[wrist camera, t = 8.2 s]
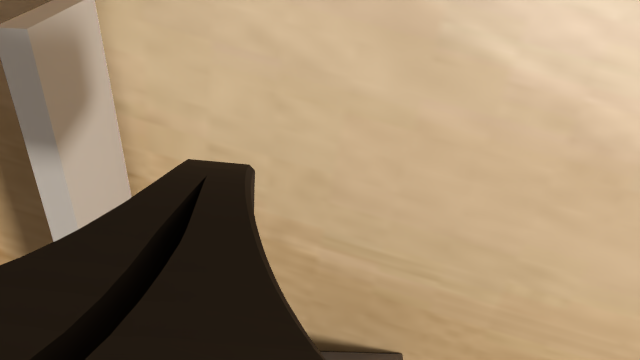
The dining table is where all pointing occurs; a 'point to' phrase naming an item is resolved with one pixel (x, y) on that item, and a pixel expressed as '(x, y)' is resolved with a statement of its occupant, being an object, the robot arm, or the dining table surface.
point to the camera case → (360, 356)
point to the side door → (66, 111)
